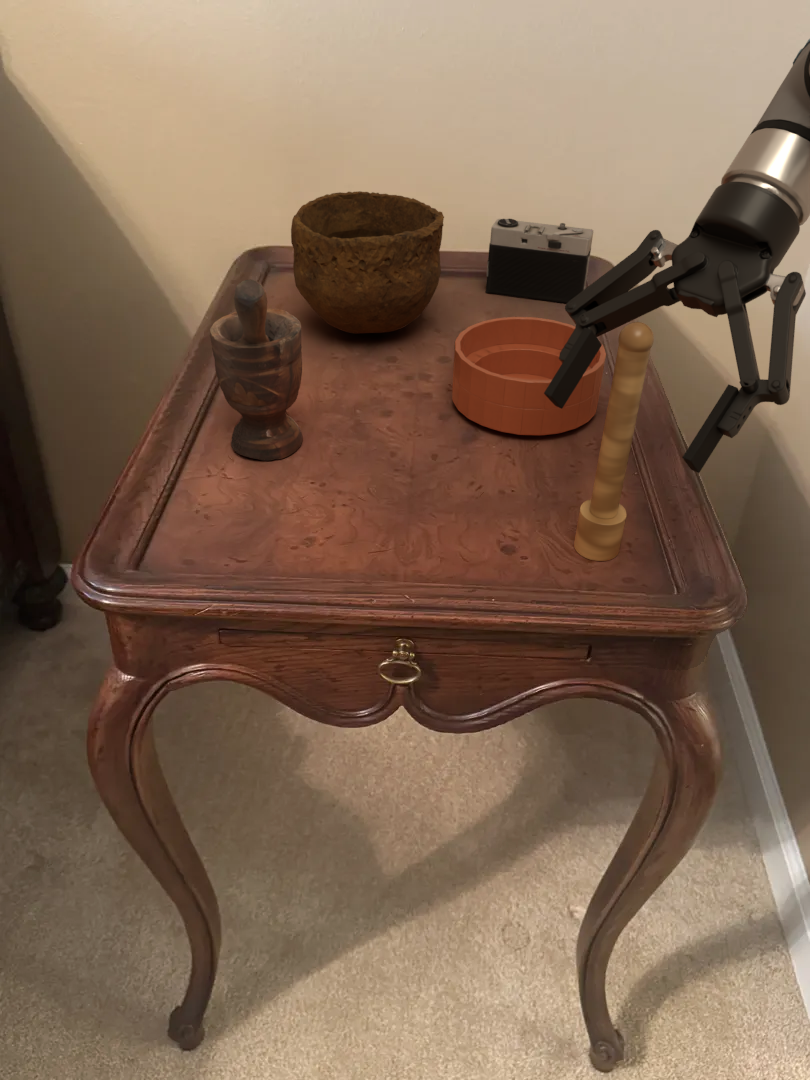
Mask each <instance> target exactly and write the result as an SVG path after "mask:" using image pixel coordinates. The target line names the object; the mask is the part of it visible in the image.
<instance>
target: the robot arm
mask: <svg viewBox="0 0 810 1080" xmlns="http://www.w3.org/2000/svg"><path fill="white" fill-rule="evenodd" d="M809 217H810V38H809V39H808V40H807V41H806V43H805V45H804V46H803V47H802V48H801V49H799V51H798V52H797V55H796V56H795V58H794V60H793V61H792V66H791V68H790V69H789V71H788V72H787V74H786V76H785V78H784V79H783V80H782V82H781V84H780V85H779V87H778V89H777V91H776V92H775V94H774V96H773V98H771V101H770V103H769V104H768V106H767V107H766V109H765V111H764V112H763V114H762V115H761V117H760V119H759V120H758V122H757V124H756V125H755V127H754V128H753V129H752V131H751V133H750V134H748V137H747V138H746V140H745V141H744V143H743V144H742V146H741V148H740V149H739V150H738V152H737V154H736V155H735V156H734V159H733V160H732V162H731V163H730V165H729V166H728V168H727V169H726V171H725V173H724V174H723V176H722V177H721V180H720V185H718V186H717V187H716V188H715V189H714V190H713V192H712V194H711V195H710V196H709V198H708V200H707V202H706V204H705V205H704V207H703V208H702V210H701V211H700V213H699V215H698V216H697V218H696V219H695V221H694V224H693V226H692V228H691V230H690V233H689V235H688V236H687V237H686V238H685V239H684V240H683V241H681V242H680V243H679V244H677V243H674V242H672V241H671V240H668V239H666V238H665V237H663V233H662V232H661V231H660V230H659V229H653V230H650V231H649V232H648V233H647V234H646V236H645V238H643V240H642V241H641V243H640V244H639V245H638V247H637V248H636V250H634V251H633V252H631V253H630V254H629V255H628V256H626V257H625V258H624V259H622V260H621V261H619V263H617V264H616V265H615V266H613V267H611V269H609V270H607V272H605V273H604V274H603V275H601V276H599V277H598V278H597V279H596V280H595V281H593V282H592V283H590V285H588V286H586V287H585V289H584V290H583V291H582V292H581V293H579V294H578V295H577V296H575V297H574V298H573V299H571V300H570V301H569V302H568V303H567V304H566V303H565V306H564V310H565V312H566V313H567V315H569V316H568V317H570V318H571V320H572V321H573V323H574V324H575V330H574V331H573V333H572V334H571V336H570V338H569V339H568V341H567V343H566V344H565V346H564V348H563V349H562V351H561V352H560V355H559V360H560V361H561V362H562V365H561V366H560V368H559V370H558V371H557V373H556V374H555V376H554V378H553V379H552V381H551V382H550V384H549V386H548V387H547V389H546V390H545V392H544V394H545V395H546V396H547V397H548V398H549V400H550V401H551V402H552V403H553V404H554V405H555V406H557V407H559V408H561V409H562V408H563V407H564V405H565V403H566V402H567V400H568V399H569V397H570V395H571V394H572V392H573V391H574V389H575V387H576V386H577V384H578V383H579V381H580V379H581V378H582V376H583V375H584V373H585V371H586V370H587V368H588V367H589V365H590V363H591V362H592V360H593V359H594V357H595V355H596V354H597V352H598V351H599V349H600V347H601V346H602V344H603V343H602V342H601V341H600V340H599V338H598V337H600V336H604V335H605V334H607V333H609V332H611V331H613V330H615V329H617V328H619V327H622V326H623V325H627V324H629V323H631V322H632V321H634V320H636V319H638V318H641V317H642V316H644V315H647V314H648V313H651V312H653V311H654V310H655V311H656V310H658V309H659V308H661V307H670V306H672V305H675V304H677V303H679V302H681V303H682V306H683V307H686V308H689V309H692V310H701V311H703V312H705V314H707V315H709V316H712V317H715V318H718V316H722V315H723V316H724V315H727V320H728V326H729V330H730V335H731V341H732V346H733V352H734V356H735V362H736V367H737V372H738V377H739V378H738V379H739V385H740V388H739V387H736V386H734V385H731V384H729V383H728V384H727V386H726V387H725V389H724V390H723V392H722V394H721V395H720V397H719V399H718V400H717V402H716V403H715V404H714V406H713V407H712V410H711V411H710V412H709V415H708V416H707V418H706V419H705V421H704V422H703V424H702V425H701V427H700V428H699V430H698V432H697V433H696V435H695V437H694V438H693V439H692V441H691V442H690V444H689V446H688V447H687V449H686V451H685V452H684V454H683V455H682V459H683V461H684V462H685V464H687V467H688V468H689V470H691V471H694V472H695V473H698V474H700V472H701V471H702V469H703V468H704V466H705V465H706V463H707V461H708V460H709V459H710V457H711V455H712V453H713V452H714V451H715V449H716V447H717V446H718V444H719V443H720V441H721V439H722V438H723V437H724V436H725V437H728V438H730V439H733V438H734V437H736V436H737V435H738V434H739V433H740V431H741V429H742V427H743V426H744V424H745V423H746V421H747V420H748V418H749V416H750V415H751V414H752V412H753V410H754V409H755V407H756V406H757V405H759V404H762V403H774V404H775V405H777V406H784V405H785V404H787V403H788V402H789V401H790V397H791V387H792V386H791V385H792V373H793V371H792V370H793V358H794V346H795V332H796V331H795V330H796V318H797V315H798V312H799V310H800V308H801V307H802V304H803V301H804V300H805V297H806V295H807V292H806V289H805V283H804V280H803V276H802V274H801V273H800V272H798V271H792V272H789V273H788V274H786V275H781V274H780V275H779V274H774V271H775V269H776V268H777V267H779V265H781V262H782V261H783V259H784V258H785V256H786V254H787V253H788V251H789V249H790V248H791V246H792V245H793V243H794V242H795V240H796V239H797V237H798V235H799V233H800V231H801V227H800V226H802V225H804V224H805V223H806V222H807V221H808V219H809ZM670 261H671V265H670V266H668V267H666V268H664V267H665V265H666V263H667V262H670ZM657 268H659V269H660V268H664V269H662V270H660V271H658V272H656V273H654V274H653V276H652V278H651V279H649V280H648V281H646V282H644V283H642V284H640V283H641V282H643V281H644V280H645V279H647V278H648V277H649V276H650V275H652V273H653V272H654V271H656V269H657ZM639 284H640V285H639ZM671 284H673V287H671V288H669V287H668V286H669V285H671ZM637 285H638V286H637ZM767 292H770V294H769V295H770V296H769V297H770V299H771V302H772V305H773V315H772V326H771V337H770V338H771V339H770V349H769V350H770V351H769V361H768V362H769V363H768V373H767V374H768V375H767V379H765V378H764V379H763V378H762V379H761V376H760V371H759V367H758V361H757V356H756V352H755V347H754V342H753V337H752V331H751V327H750V320H749V319H750V318H749V315H748V308H747V305H746V304H748V303H750V302H752V301H754V300H756V299H758V298H760V297H761V296H763V295H764V294H766V293H767ZM600 342H601V343H602V344H601V343H600Z"/></svg>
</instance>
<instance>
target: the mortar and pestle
mask: <svg viewBox="0 0 810 1080" xmlns="http://www.w3.org/2000/svg"><path fill="white" fill-rule="evenodd" d="M233 303H234V308H235V311H234V312H231V313H229V314H227V315H224V316H222V317H220V318H218V319H217V320H216V321H215V322H213V324H212V326H211V327H210V328H209V338H210V343H211V350H212V356H213V359H214V370H215V374H216V377H217V382H218V383H219V388H220V390H221V391H222V394H223V396H224V399H225V401H226V403H227V404H228V405H229V406H230V407H231V408H232V409H234V411H237V412H238V413H239V414H240V415H241V418H240V419H239V421H238V422H237V423H236V425H235V426H234V428H233V432H232V434H231V439H230V440H231V441H230V446H231V448H232V450H233V451H234V452H235V453H236V454H238V455H240V456H242V457H245V458H248V459H249V458H250V459H254V460H260V461H263V462H264V461H265V462H266V461H274V460H281V459H285V458H287V457H289V456H291V455H293V454H294V453H295V452H296V451H298V449H299V448H300V447H302V444H303V433H302V430H301V428H300V426H299V425H298V423H297V422H296V421H295V419H293V417H291V416H290V415H288V414H287V410H289V409H290V408H291V407H292V406H293V405H294V404H295V403H296V401H297V399H298V396H299V391H300V388H301V383H302V375H303V353H302V347H303V346H302V324H301V321H300V320H299V319H298V318H297V317H296V316H294V314H291V313H289V312H288V311H286V310H284V309H277V308H276V309H275V308H274V309H273V308H268V296H267V291H266V289H265V287H264V286H263V284H261V283H260V281H257V280H255V279H251V278H249V279H245V280H241V281H240V282H238V284H237V285H236V286H235V290H234V295H233Z"/></svg>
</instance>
